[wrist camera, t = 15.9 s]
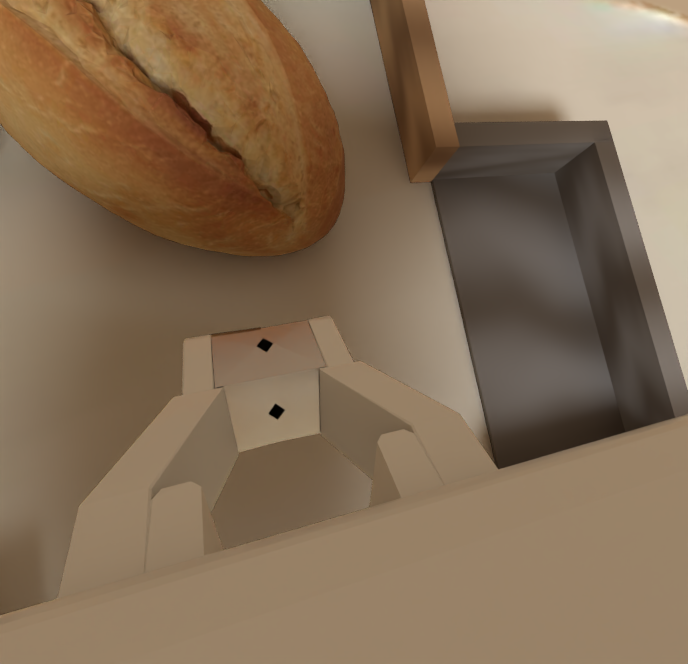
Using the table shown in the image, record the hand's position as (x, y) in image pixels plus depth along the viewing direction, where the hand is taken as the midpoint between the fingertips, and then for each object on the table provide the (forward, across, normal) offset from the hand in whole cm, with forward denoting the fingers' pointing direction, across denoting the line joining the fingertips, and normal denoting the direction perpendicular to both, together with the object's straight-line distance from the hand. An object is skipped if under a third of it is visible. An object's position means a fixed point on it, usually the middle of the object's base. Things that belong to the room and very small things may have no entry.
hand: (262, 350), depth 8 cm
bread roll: (+14, -2, 0) cm, 14 cm away
